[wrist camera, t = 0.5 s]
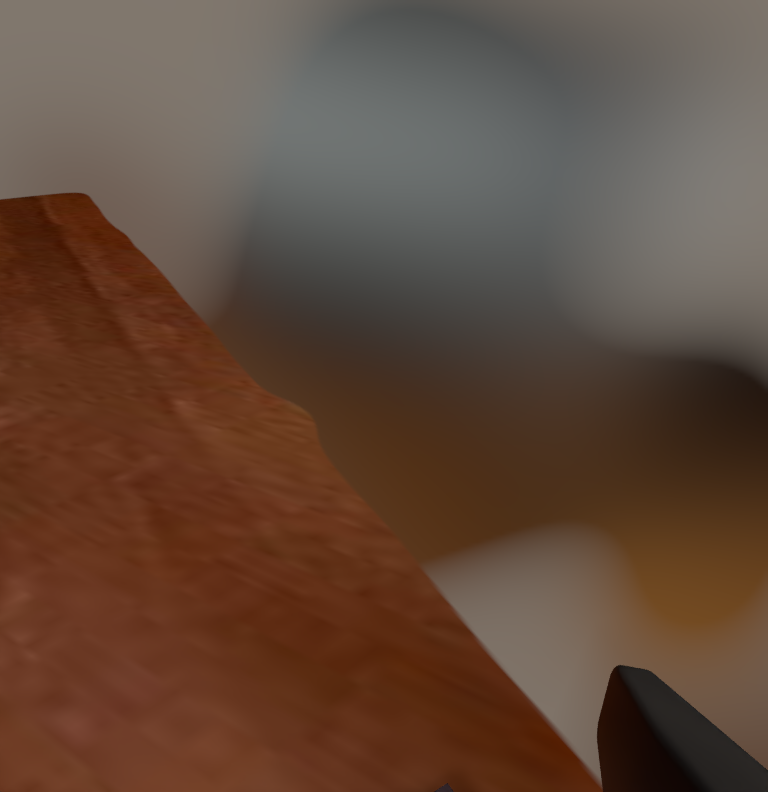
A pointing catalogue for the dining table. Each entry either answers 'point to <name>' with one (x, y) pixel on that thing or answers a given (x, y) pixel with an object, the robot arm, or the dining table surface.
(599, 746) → the robot arm
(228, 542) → the dining table surface
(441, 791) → the chocolate bar
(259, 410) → the dining table surface
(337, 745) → the dining table surface
